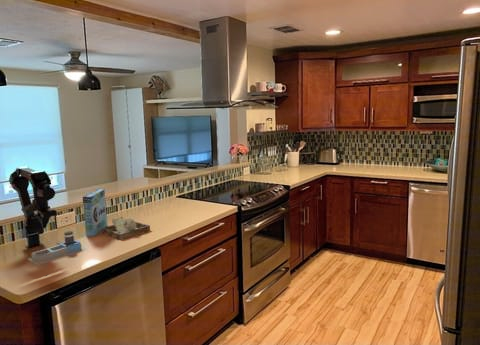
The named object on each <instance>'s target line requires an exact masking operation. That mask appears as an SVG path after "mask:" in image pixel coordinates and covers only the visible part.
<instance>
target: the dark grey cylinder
mask: <svg viewBox="0 0 480 345" xmlns="http://www.w3.org/2000/svg"><path fill="white" fill-rule="evenodd" d="M63 238H64V242H65V244H66V245H67V246H68V245H71V244H74V240H75V237H74V231H72V230H68V231H65V232H64V233H63Z"/></svg>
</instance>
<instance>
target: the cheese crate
mask: <svg viewBox="0 0 480 345" xmlns="http://www.w3.org/2000/svg"><path fill="white" fill-rule="evenodd" d="M134 221H135V220H134ZM135 223H136V229H135V230H132V231H128V232H125V233H122V234H121V233H118V232H117V229H116V227H115V226H114V224H113V225H109V226H106V227H105V228H102V230H101V232H102V234H104V235H107V236H109V237H111V238H114V239H118V240H121V241H122V240H124V239H128V238H131V237H135V236H137V235H141V234H144V233H146V232H149V231H151V227H150V226H151V225H149V224H145V223H142V222H139V221H135Z"/></svg>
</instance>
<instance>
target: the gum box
mask: <svg viewBox="0 0 480 345" xmlns="http://www.w3.org/2000/svg"><path fill="white" fill-rule="evenodd" d="M105 194H106V193H105V189H99V188H98V189H95V190H93V191H92V192H90V193H88V194H86V195H84V196H82V207H83V217H84V227H85V237H87V238H88V237H92V238H93V237H96V236H97V235H98V234H99V233H100V232H102V228H105V227H108V218H107V217H108V216H107V204H106V203H107V202H106V195H105Z"/></svg>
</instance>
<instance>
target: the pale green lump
mask: <svg viewBox="0 0 480 345" xmlns="http://www.w3.org/2000/svg"><path fill="white" fill-rule="evenodd" d="M111 222H112V224H113V225H114V226H115V227H116V229H117V230H116V232H118V233H121V234H122V233H125V232H128V231H132V230H135V229H137V227H136V223H135V220H134V219H133V218H132V217H129V218H126V219H125V218H124V217H123V215H121V216H117V217H113V219H112V220H111Z"/></svg>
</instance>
